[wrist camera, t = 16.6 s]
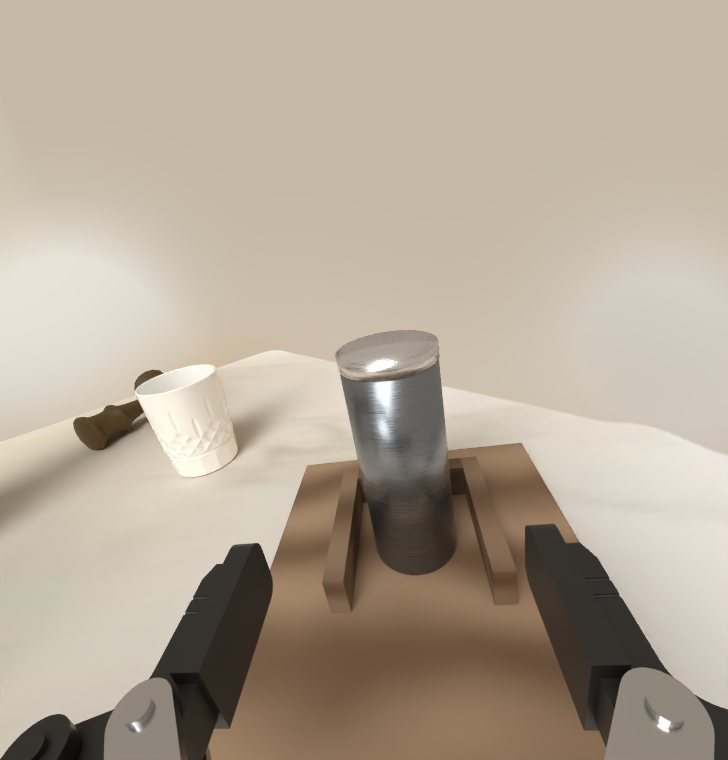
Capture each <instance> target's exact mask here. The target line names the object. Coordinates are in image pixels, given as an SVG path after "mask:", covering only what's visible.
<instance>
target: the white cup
mask: <svg viewBox="0 0 728 760" xmlns="http://www.w3.org/2000/svg"><path fill="white" fill-rule="evenodd" d="M134 393H135V395H136V397H137V399H138V401H139V403H140V405H141V407H142V409H143V411H144V413H145V415H146V417H147V419H148V421H149V423H150V425H151V427H152V429H153V430H154V432H155V434H156V436H157V438H158V439H159V441H160V443H161V445H162V447H163V449H164V451H165V452H166V454H167V455H169V458H170V460H171V462H172V464H173V466H174V468H175V470H176V471H177V472H178V473H179V474H180V475H181V476H182V477H192V478H193V477H198V476H203V475H207V474H209V473H212V472H214V471H216V470H218V469H221V468H222V467H224V466H225V465H226V464H228V463H229V462H230V461H232V460H233V458H234V457H235V456H236V454H237V453H238V444H237V441H236V438H235V435H234V431H233V424H232V421H231V417H230V413H229V410H228V406H227V402H226V399H225V396H224V392H223V389H222V386H221V382H220V379H219V376H218V372H217V369H216V367H215V366H213V365H209V364H205V365H204V364H203V365H194V366H188V367H184V368H180V369H176V370H173V371H170V372H167V373H164V374H161V375H159V376H156V377H154V378H152V379H150V380H148V381H146V382H144V383H143V384H141V385H140V386H138V387H137V388H136V389H135V392H134Z"/></svg>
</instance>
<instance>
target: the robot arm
mask: <svg viewBox="0 0 728 760" xmlns="http://www.w3.org/2000/svg"><path fill="white" fill-rule="evenodd" d="M525 569H526V574H527V579H528V582H529V586H530V589H531V591H532V594H533V597H534V599H535V602H536V605H537V607H538V610H539V613H540V615H541V618H542V620H543V623H544V626H545V628H546V631H547V634H548V636H549V639H550V642H551V644H552V647H553V650H554V652H555V655H556V658H557V660H558V663H559V666H560V668H561V671H562V674H563V676H564V679H565V682H566V684H567V687H568V690H569V692H570V695H571V698H572V700H573V703H574V706H575V708H576V711H577V714H578V716H579V719H580V721H581V724H582V727H583V729H584V731H599V732H600V734H601V737H602V739H603V742H604V744H605V747H606V752H605V757H604V760H728V710H727V709H724V708H721V707H719V706H716V705H713V704H711V703H709V702H707V701H705V700H703V699H701V698H700V697H698V696H696V695H694V694H693V693H692V692H691V691H690V690H689V689H688V688H687V687H686V686H685V685H683V684H682V683H681V682H679V681H678V680H676V679H675V678H674V677H673V676H672V675H671V674H670V673H669V672H668V671H667V670H666V669H665V667H664V666H663V664H662V663H661V661H660V660H659V658H658V657H657V655H656V653H655V652H654V650H653V648H652V647H651V645H650V644H649V642H648V640H647V639H646V637H645V635H644V634H643V632H642V630H641V629H640V627H639V625H638V624H637V622H636V621H635V619H634V617H633V616H632V614H631V612H630V611H629V609H628V607H627V606H626V604H625V602H624V601H623V599H622V598H621V597H620V596H619V593H618V591H617V589H616V588H615V586H614V584H613V583H612V581H610V579H609V576H608V575H607V573H606V571H605V570H604V568H603V566H602V565H601V563H600V561H599V560H598V558H597V557H596V556H595V555H593V554H592V553H591V552H590V551H589V550H588V549H587V548H585V547H584V546H583V545H582V544H581V543H580V542H578V543H565V541H564V539H563V537H562V535H561V533H560V531H559V530H558V528H557V526H556V525H555V524H553V523H552V524H537V525H526V527H525ZM272 593H273V579H272V575H271V572H270V570H269V567H268V564H267V562H266V559H265V556H264V553H263V551H262V548H261V546H260V544H258V543H253V544H239V545H233V546H232V547H231V549H230V551H229V553H228V555H227V557H226V559H225V561H224V563H223V564H216V565H215V566H214V568H213V569H212V570H211V571H210V572H209V573H208V574H207V575H206V576H205V577H204V578H203V580H202V581H201V583H200V585H199V587H198V589H197V591H196V593H195V595H194V596H193V600H192V601H191V602H190V604H189V606H188V608H187V610H186V614H185V615H183V617H182V619H181V621H180V623H179V625H178V627H177V629H176V630H175V632H174V634H173V636H172V638H171V640H170V642H169V644H168V646H167V647H166V649H165V651H164V653H163V655H162V657H161V659H160V661H159V663H158V664H157V666H156V668H155V670H154V672H153V674H152V675H151V677H150V678H149V679H148V680H146V681H144V682H142V683H140V684H138V685H137V686H135V687H134V688H133V689H132V690H130V691H129V692H128V693H127V694H126V695H125V696H124V697H123V698H122V699H121V701H120V702H119V703H118V704H117V706H116V707H115V709H113V710H111V711H109V712H106V713H104V714H101V715H99V716H96V717H93V718H91V719H88V720H86V721H83V722H81V723H78V724H76V725H73V723H72V722H71V721H70V720H69V719H68V718H67V717H66V716H65V715H62V714H55V715H51V716H48V717H46V718H44V719H42V720H40V721H38V722H37V723H35V724H34V725H32V726H31V727H30V728H28V729H27V730H26V731H25V732H24V733H23V734H21V735H20V736H19V737H18V738H17V739H16V740H15V741H14V742H13V744H12V745H11V746H10V747H9V748H8V750H7V751H6V752H5V754H4V755H3V756H2V758H1V759H0V760H212V759H211V753H210V749H209V747H208V745H209V742H210V739H211V736H212V733H213V730H214V729H230V727H231V724H232V720H233V717H234V714H235V711H236V708H237V705H238V702H239V699H240V695H241V692H242V689H243V686H244V683H245V680H246V677H247V674H248V670H249V667H250V664H251V661H252V658H253V655H254V652H255V648H256V645H257V642H258V639H259V636H260V633H261V630H262V627H263V623H264V620H265V617H266V614H267V611H268V608H269V605H270V602H271V598H272Z"/></svg>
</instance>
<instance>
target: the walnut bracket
mask: <svg viewBox="0 0 728 760" xmlns="http://www.w3.org/2000/svg"><path fill="white" fill-rule="evenodd" d="M448 460H449V470H450V481H451V491H452V501H453V512H454V522H455V533H456V549H455V552H454V554H453V556H452V558H451V559H450V560H449V562H448V563H447V564H446V565H444V566H443V567H442V568H440V569H439V570H437V571H435V572H432V573H429V574H425V575H406V574H402V573H399V572H396V571H394V570H393V569H391V568H389V567H388V566H387V565H386V564H385V563H384V562H383V561H382V560H381V558H380V556H379V554H378V551H377V547H376V542H375V538H374V533H373V528H372V523H371V519H370V514H369V509H368V504H367V500H366V495H365V490H364V485H363V481H362V476H361V471H360V466H359V462H358V460H355V461H345V462H336V463H326V464H317V465H307V468H306V470H305V473H304V476H303V479H302V482H301V484H300V487H299V490H298V493H297V496H296V498H295V501H294V504H293V507H292V510H291V513H290V515H289V518H288V521H287V524H286V527H285V529H284V532H283V535H282V538H281V541H280V543H279V546H278V549H277V552H276V555H275V557H274V560H273V563H272V566H271V569H270V572H271V575H272V579H273V593H272V598H271V602H270V605H269V608H268V611H267V614H266V617H265V620H264V623H263V627H262V630H261V633H260V636H259V639H258V642H257V645H256V648H255V652H254V655H253V658H252V661H251V664H250V667H249V670H248V674H247V677H246V680H245V683H244V686H243V689H242V692H241V695H240V699H239V702H238V705H237V708H236V711H235V714H234V717H233V720H232V724H231V727H230V729H214V730H213V733H212V736H211V739H210V742H209V745H208V747H209V749H210V753H211V759H212V760H604V757H605V752H606V747H605V744H604V742H603V739H602V737H601V734H600V732H599V731H584V729H583V727H582V724H581V721H580V719H579V716H578V714H577V711H576V708H575V706H574V703H573V700H572V698H571V695H570V692H569V690H568V687H567V684H566V682H565V679H564V676H563V674H562V671H561V668H560V666H559V663H558V660H557V658H556V655H555V652H554V650H553V647H552V644H551V642H550V639H549V636H548V634H547V631H546V628H545V626H544V623H543V620H542V618H541V615H540V613H539V610H538V607H537V605H536V602H535V599H534V597H533V594H532V591H531V589H530V586H529V582H528V579H527V574H526V569H525V527H526V525H537V524H552V523H553V524H555V525H556V526H557V528H558V530H559V531H560V533H561V535H562V537H563V539H564V541H565V543H578V542H579V541H578V539H577V537H576V536H575V534H574V532H573V530H572V529H571V527H570V525H569V524H568V522H567V520H566V518H565V517H564V515H563V513H562V512H561V510H560V508H559V507H558V505H557V503H556V501H555V500H554V498H553V496H552V495H551V493H550V491H549V489H548V488H547V486H546V484H545V483H544V481H543V479H542V478H541V476H540V474H539V472H538V471H537V469H536V467H535V466H534V464H533V462H532V461H531V459H530V457H529V455H528V454H527V452H526V450H525V449H524V447H523V445H522V443H516V444H506V445H497V446H487V447H478V448H468V449H459V450H450V451H448Z"/></svg>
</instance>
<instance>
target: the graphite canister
mask: <svg viewBox="0 0 728 760" xmlns="http://www.w3.org/2000/svg"><path fill="white" fill-rule="evenodd" d="M335 356H336V362H337V366H338V371H339V373H340V376H341V381H342V386H343V390H344V395H345V400H346V405H347V409H348V414H349V419H350V424H351V428H352V433H353V438H354V443H355V447H356V452H357V457H358V462H359V466H360V471H361V476H362V481H363V485H364V490H365V495H366V500H367V504H368V509H369V514H370V519H371V523H372V528H373V533H374V538H375V542H376V547H377V551H378V554H379V556H380V558H381V560H382V561H383V562H384V563H385V564H386V565H387V566H388V567H389V568H391V569H393V570H394V571H396V572H399V573H402V574H406V575H425V574H429V573H432V572H435V571H437V570H439V569H440V568H442V567H443V566H444V565H446V564H447V563H448V562H449V560H450V559H451V558H452V556H453V554H454V552H455V549H456V533H455V522H454V512H453V501H452V491H451V481H450V470H449V460H448V450H447V439H446V429H445V418H444V408H443V398H442V387H441V377H440V367H439V347H438V339H437V337H436V336H435V335H433V334H431V333H428V332H423V331H415V330H401V331H390V332H383V333H377V334H373V335H369V336H365V337H362V338H359V339H356V340H354V341H351V342H349V343H347V344H345V345H344V346H342V347H341V348H340V349H339V350H338V351H337V352H336V354H335Z"/></svg>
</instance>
